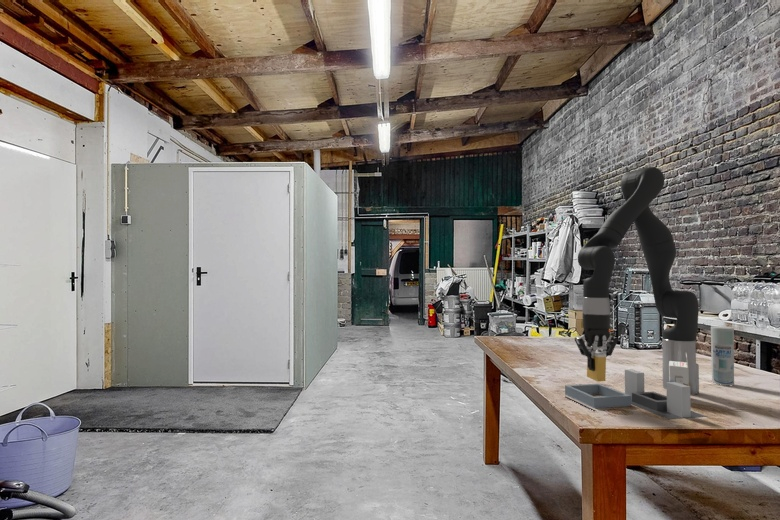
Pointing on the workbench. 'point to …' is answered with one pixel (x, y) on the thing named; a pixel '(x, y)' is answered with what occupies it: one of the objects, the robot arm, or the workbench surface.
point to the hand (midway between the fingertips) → (596, 369)
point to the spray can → (722, 355)
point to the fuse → (598, 367)
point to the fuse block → (660, 397)
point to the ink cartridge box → (679, 372)
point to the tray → (607, 400)
